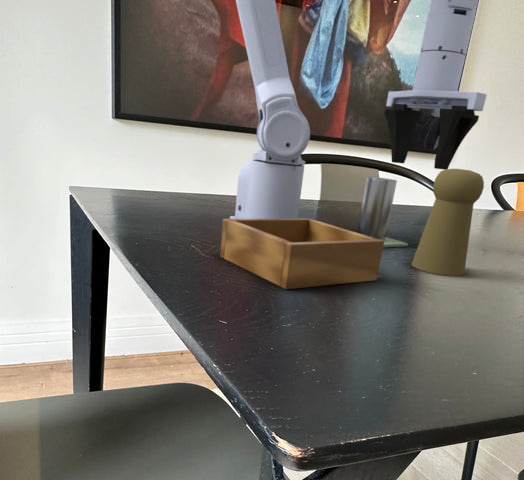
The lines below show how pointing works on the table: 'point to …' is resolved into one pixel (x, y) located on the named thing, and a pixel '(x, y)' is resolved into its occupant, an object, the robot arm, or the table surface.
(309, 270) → the wooden box
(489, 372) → the table surface
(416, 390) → the table surface
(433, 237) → the cork
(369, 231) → the metal tube
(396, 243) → the felt mat
